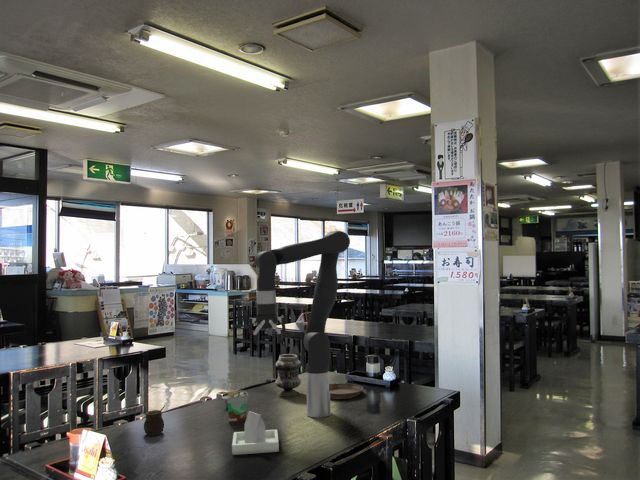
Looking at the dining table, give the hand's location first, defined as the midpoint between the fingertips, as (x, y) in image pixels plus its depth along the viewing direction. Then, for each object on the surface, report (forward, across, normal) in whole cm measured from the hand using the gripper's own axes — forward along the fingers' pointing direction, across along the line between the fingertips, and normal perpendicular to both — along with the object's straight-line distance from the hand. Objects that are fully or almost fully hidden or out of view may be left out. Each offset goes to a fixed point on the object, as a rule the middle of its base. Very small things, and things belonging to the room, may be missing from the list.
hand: (267, 344), depth 198 cm
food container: (+30, +11, -6) cm, 33 cm away
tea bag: (+29, +5, +25) cm, 39 cm away
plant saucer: (+31, -34, -35) cm, 58 cm away
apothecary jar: (+30, -10, -41) cm, 52 cm away
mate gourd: (+30, +42, +5) cm, 52 cm away
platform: (+31, +14, -26) cm, 43 cm away
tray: (+30, +5, +25) cm, 39 cm away
